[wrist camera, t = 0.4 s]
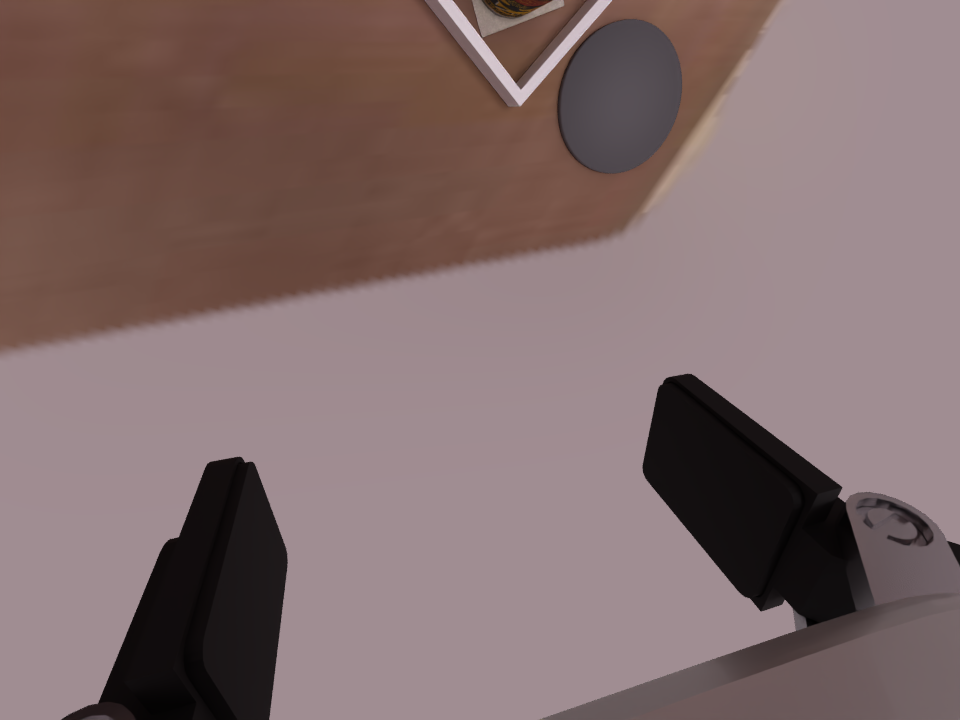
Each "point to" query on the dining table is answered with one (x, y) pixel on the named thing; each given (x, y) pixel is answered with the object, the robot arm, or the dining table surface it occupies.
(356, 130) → the dining table surface
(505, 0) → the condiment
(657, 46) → the mat
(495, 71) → the case
